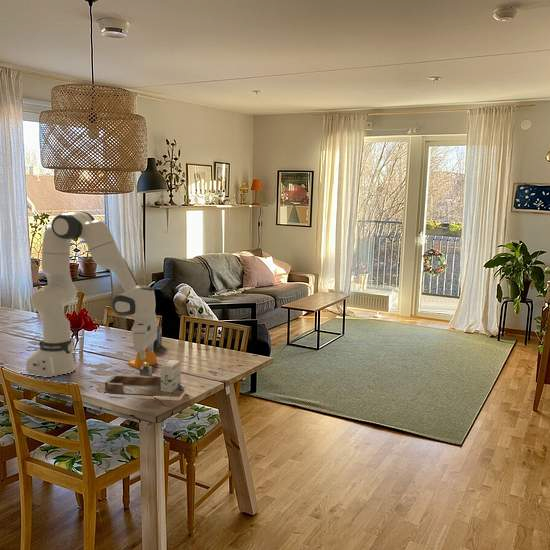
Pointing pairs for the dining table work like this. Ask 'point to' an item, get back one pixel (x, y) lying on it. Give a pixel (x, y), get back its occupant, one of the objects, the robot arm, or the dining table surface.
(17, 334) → the dining table surface
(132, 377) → the open box
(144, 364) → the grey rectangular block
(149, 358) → the bracket
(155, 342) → the small box
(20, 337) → the dining table surface
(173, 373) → the ink box
